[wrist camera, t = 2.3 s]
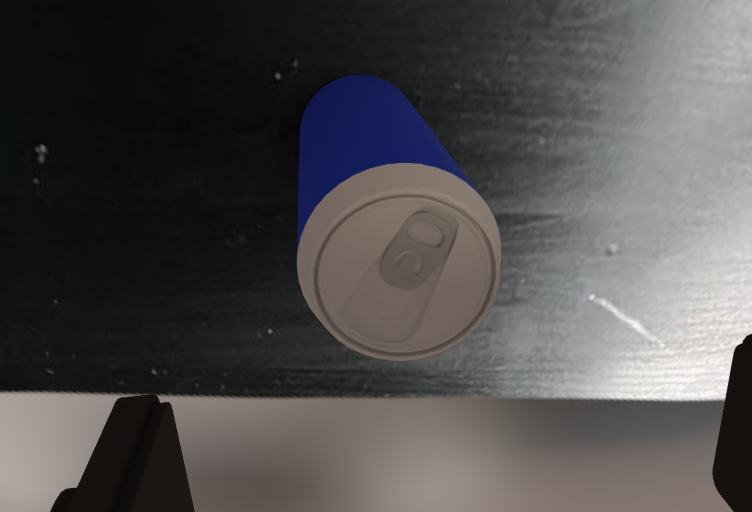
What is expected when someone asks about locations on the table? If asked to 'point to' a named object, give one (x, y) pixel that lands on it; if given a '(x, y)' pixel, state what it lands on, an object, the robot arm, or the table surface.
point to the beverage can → (389, 226)
